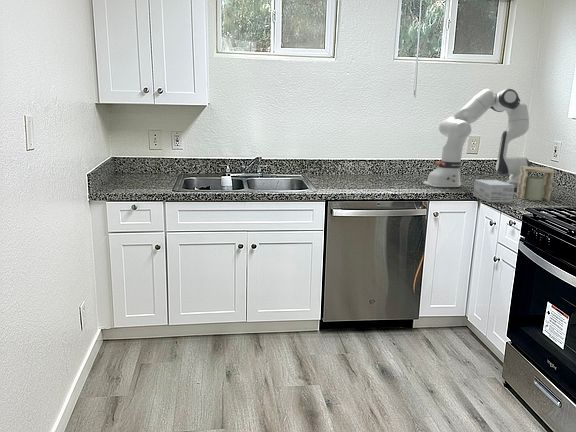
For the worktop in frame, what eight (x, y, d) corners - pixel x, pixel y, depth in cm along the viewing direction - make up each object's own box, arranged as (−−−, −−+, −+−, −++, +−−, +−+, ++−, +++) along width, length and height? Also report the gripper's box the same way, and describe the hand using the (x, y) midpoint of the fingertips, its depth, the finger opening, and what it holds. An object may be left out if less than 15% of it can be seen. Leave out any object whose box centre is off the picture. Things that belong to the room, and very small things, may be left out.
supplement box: (512, 202, 261) (515, 184, 259) (489, 202, 259) (491, 184, 257) (495, 196, 277) (497, 179, 275) (472, 196, 275) (474, 179, 273)
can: (520, 196, 277) (523, 174, 274) (537, 197, 277) (540, 175, 274) (526, 200, 268) (530, 177, 265) (544, 201, 268) (548, 178, 265)
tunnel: (509, 190, 293) (513, 162, 289) (534, 192, 291) (539, 163, 287) (521, 199, 269) (526, 168, 265) (549, 201, 267) (554, 170, 263)
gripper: (504, 176, 292) (510, 180, 279) (541, 178, 290) (550, 182, 276) (502, 187, 294) (509, 191, 281) (540, 189, 291) (548, 193, 278)
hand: (529, 187), depth 278 cm, fingers closed
